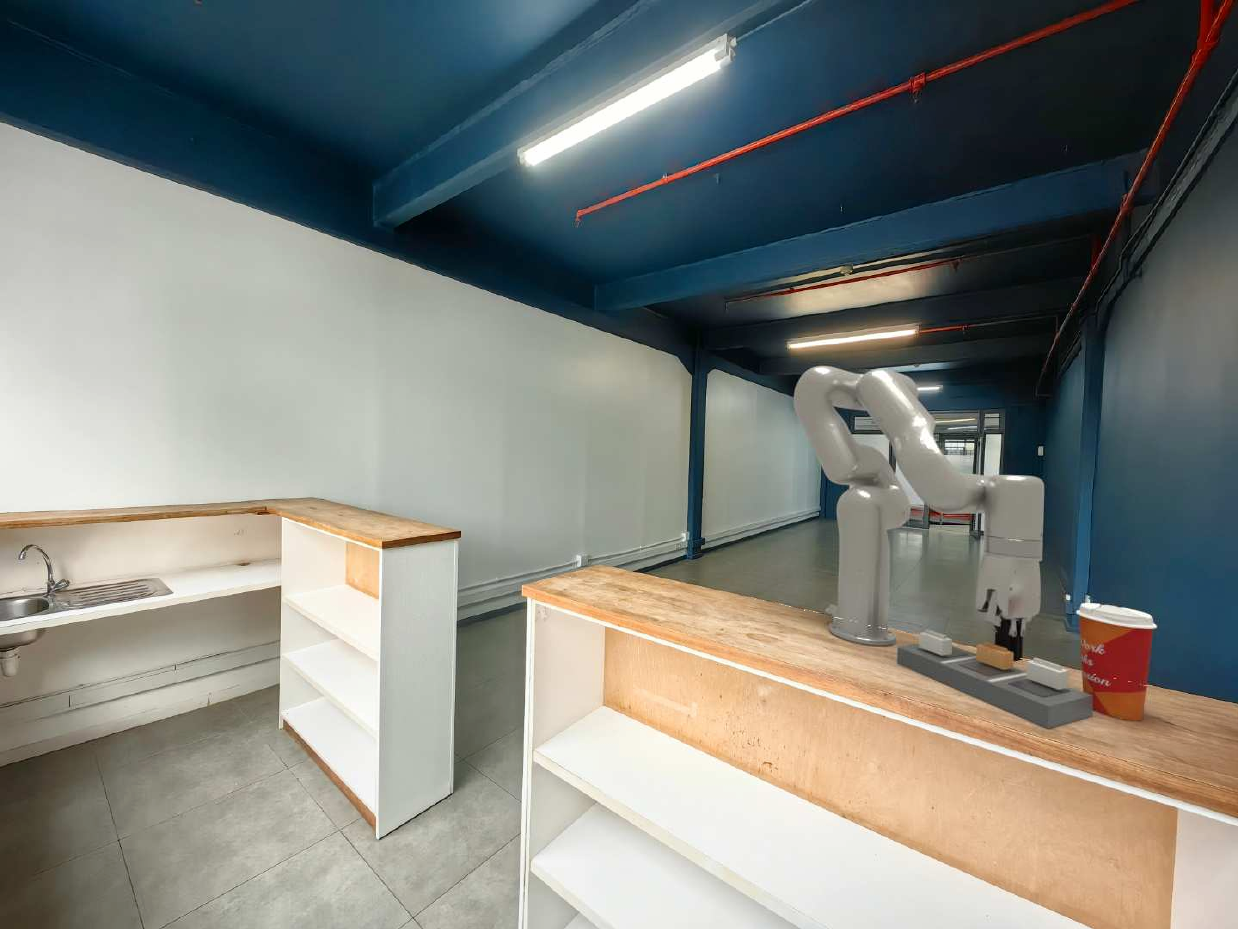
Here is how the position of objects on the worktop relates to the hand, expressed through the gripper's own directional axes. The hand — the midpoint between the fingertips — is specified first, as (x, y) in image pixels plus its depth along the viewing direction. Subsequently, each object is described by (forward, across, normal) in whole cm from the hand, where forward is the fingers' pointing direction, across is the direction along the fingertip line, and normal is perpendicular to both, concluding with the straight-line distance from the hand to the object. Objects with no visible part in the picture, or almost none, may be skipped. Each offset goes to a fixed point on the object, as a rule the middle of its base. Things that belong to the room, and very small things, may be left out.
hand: (1008, 657), depth 77 cm
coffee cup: (+4, -4, +11) cm, 13 cm away
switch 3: (+1, +4, +7) cm, 8 cm away
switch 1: (+1, +8, -7) cm, 10 cm away
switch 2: (+1, +4, 0) cm, 4 cm away
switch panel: (+4, +6, 0) cm, 8 cm away
